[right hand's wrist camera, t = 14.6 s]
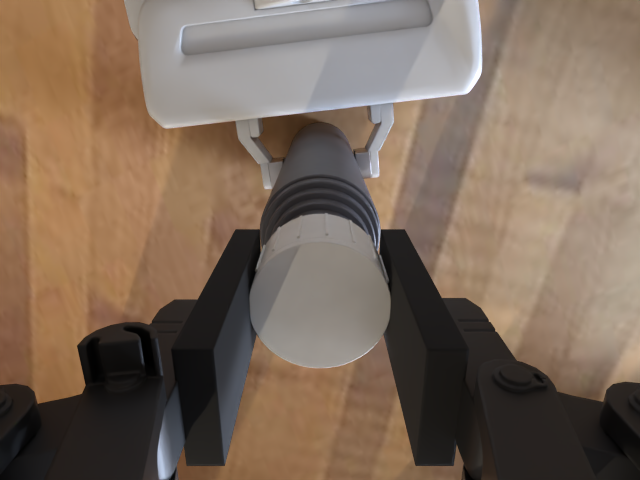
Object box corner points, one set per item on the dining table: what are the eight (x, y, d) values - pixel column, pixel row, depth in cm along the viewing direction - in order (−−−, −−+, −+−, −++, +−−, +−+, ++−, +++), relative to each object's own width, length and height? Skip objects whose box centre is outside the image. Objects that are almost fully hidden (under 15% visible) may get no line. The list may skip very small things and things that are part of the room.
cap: (268, 328, 15) (259, 375, 13) (249, 218, 14) (236, 248, 11) (384, 318, 15) (396, 363, 13) (377, 206, 14) (389, 233, 11)
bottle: (294, 185, 36) (248, 379, 13) (286, 125, 35) (219, 229, 12) (352, 179, 36) (409, 365, 13) (347, 119, 35) (402, 211, 12)
